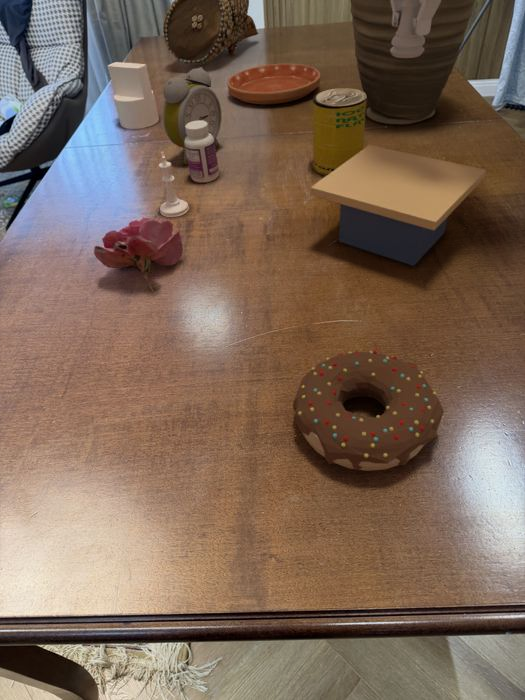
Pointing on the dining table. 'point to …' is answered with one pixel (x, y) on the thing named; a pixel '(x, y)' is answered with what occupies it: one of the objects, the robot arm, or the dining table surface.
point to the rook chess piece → (408, 33)
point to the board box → (396, 200)
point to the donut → (359, 431)
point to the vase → (406, 60)
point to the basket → (206, 28)
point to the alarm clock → (190, 106)
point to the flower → (141, 245)
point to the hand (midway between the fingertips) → (409, 30)
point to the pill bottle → (201, 152)
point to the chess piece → (171, 193)
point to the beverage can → (337, 127)
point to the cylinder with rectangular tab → (133, 95)
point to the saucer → (274, 83)
